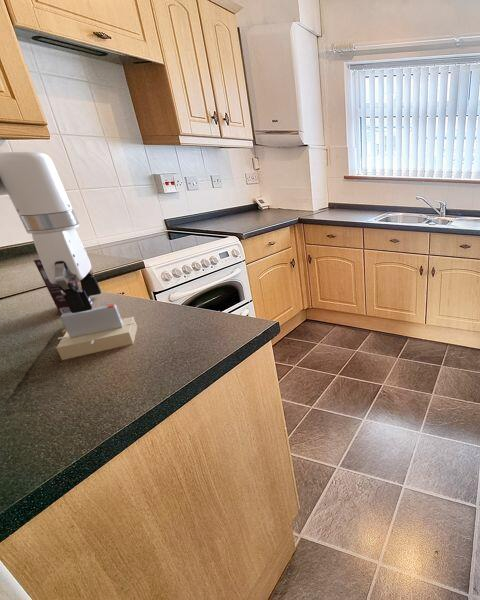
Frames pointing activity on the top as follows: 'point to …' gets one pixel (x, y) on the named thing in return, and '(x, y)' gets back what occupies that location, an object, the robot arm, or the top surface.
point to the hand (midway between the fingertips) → (87, 302)
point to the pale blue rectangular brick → (92, 320)
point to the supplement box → (55, 290)
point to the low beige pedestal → (97, 340)
